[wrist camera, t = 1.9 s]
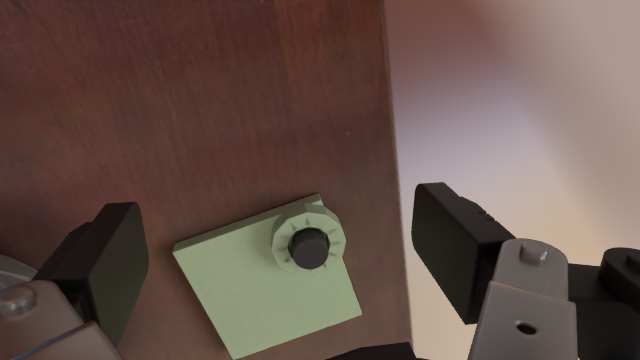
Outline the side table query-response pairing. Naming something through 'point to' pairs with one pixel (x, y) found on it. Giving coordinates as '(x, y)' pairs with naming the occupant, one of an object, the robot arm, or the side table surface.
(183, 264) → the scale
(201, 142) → the side table surface
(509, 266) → the robot arm
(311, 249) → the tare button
